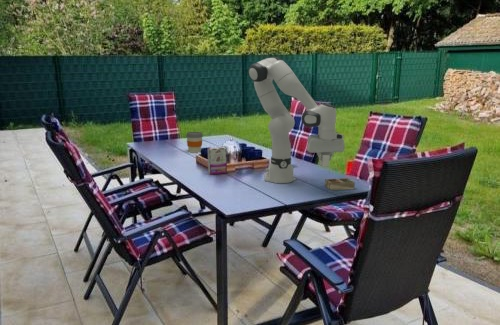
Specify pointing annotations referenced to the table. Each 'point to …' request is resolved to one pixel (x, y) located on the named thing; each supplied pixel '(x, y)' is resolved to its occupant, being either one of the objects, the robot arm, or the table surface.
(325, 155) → the plug
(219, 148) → the candy bar box
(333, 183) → the socket block
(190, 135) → the reusable coffee cup
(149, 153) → the table surface
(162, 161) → the table surface
